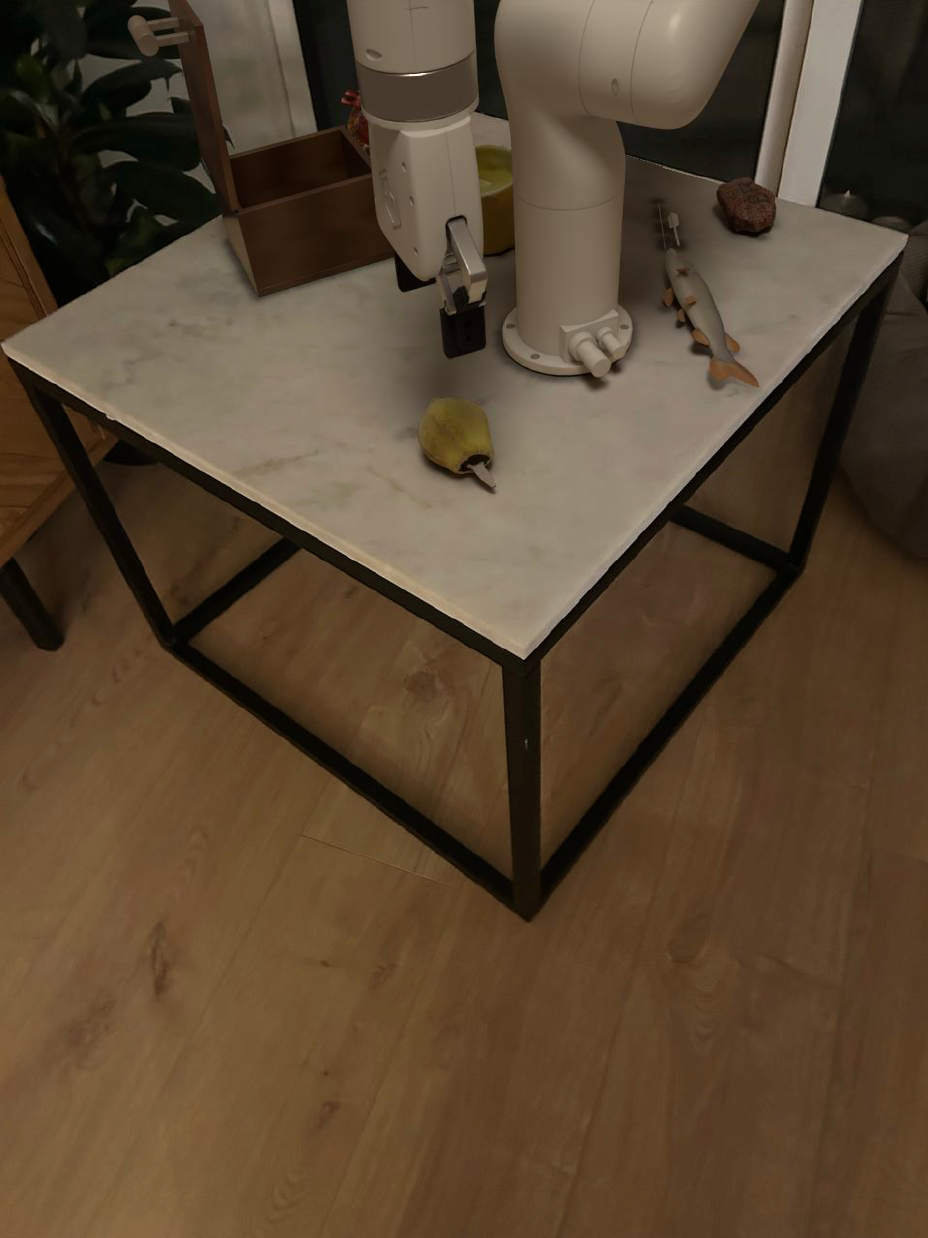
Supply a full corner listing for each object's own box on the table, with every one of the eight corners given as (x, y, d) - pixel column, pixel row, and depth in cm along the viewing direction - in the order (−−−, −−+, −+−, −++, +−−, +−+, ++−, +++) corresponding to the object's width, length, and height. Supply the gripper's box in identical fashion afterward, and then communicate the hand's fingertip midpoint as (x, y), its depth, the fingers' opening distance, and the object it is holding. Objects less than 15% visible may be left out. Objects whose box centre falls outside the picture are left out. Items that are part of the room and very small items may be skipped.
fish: (639, 265, 101) (681, 273, 103) (702, 400, 89) (748, 406, 90) (658, 227, 98) (701, 235, 99) (726, 361, 85) (774, 368, 87)
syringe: (685, 248, 103) (680, 231, 102) (667, 255, 104) (661, 237, 103) (677, 200, 110) (672, 183, 108) (659, 207, 110) (654, 190, 109)
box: (357, 204, 115) (344, 124, 107) (395, 256, 107) (383, 173, 100) (229, 241, 112) (206, 160, 104) (259, 296, 104) (236, 214, 97)
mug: (497, 181, 112) (493, 112, 102) (548, 242, 109) (549, 177, 99) (407, 234, 110) (395, 170, 101) (456, 297, 107) (448, 237, 98)
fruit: (465, 512, 82) (395, 441, 86) (517, 493, 85) (447, 425, 89) (483, 459, 78) (408, 386, 82) (536, 441, 81) (462, 372, 85)
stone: (752, 196, 109) (756, 168, 107) (794, 223, 105) (799, 195, 102) (703, 215, 108) (705, 188, 105) (743, 244, 103) (746, 216, 101)
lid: (171, -22, 91) (113, -13, 90) (203, 23, 84) (140, 33, 83) (209, 156, 104) (158, 165, 103) (239, 209, 96) (185, 220, 95)
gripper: (321, 46, 66) (358, 276, 79) (410, 151, 55) (436, 395, 69) (424, 22, 67) (444, 252, 81) (530, 120, 57) (533, 365, 70)
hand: (440, 318), depth 75 cm, fingers open, 9 cm apart
